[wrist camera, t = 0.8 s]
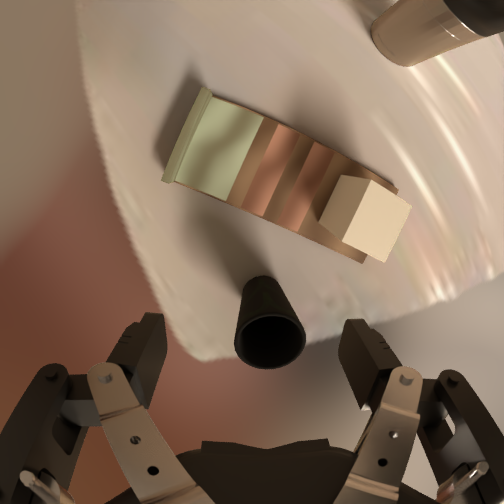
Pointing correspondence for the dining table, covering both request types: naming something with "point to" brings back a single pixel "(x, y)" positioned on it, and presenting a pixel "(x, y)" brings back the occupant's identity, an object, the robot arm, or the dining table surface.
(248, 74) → the dining table surface
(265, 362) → the cup
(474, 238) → the dining table surface
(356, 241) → the block
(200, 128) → the track
